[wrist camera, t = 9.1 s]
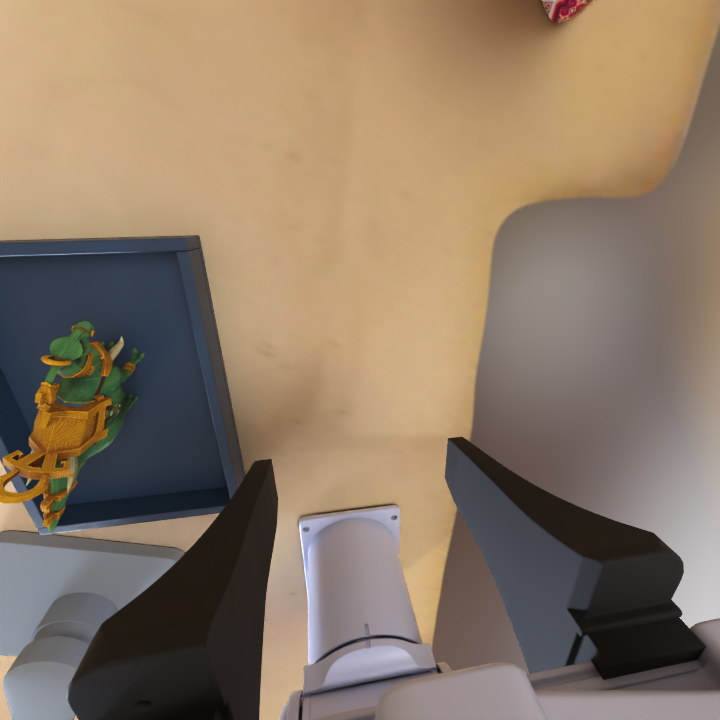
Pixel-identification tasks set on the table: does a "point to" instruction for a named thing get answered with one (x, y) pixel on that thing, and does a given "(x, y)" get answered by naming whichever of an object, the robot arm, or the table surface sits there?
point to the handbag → (565, 9)
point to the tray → (149, 380)
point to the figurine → (71, 418)
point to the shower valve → (62, 609)
